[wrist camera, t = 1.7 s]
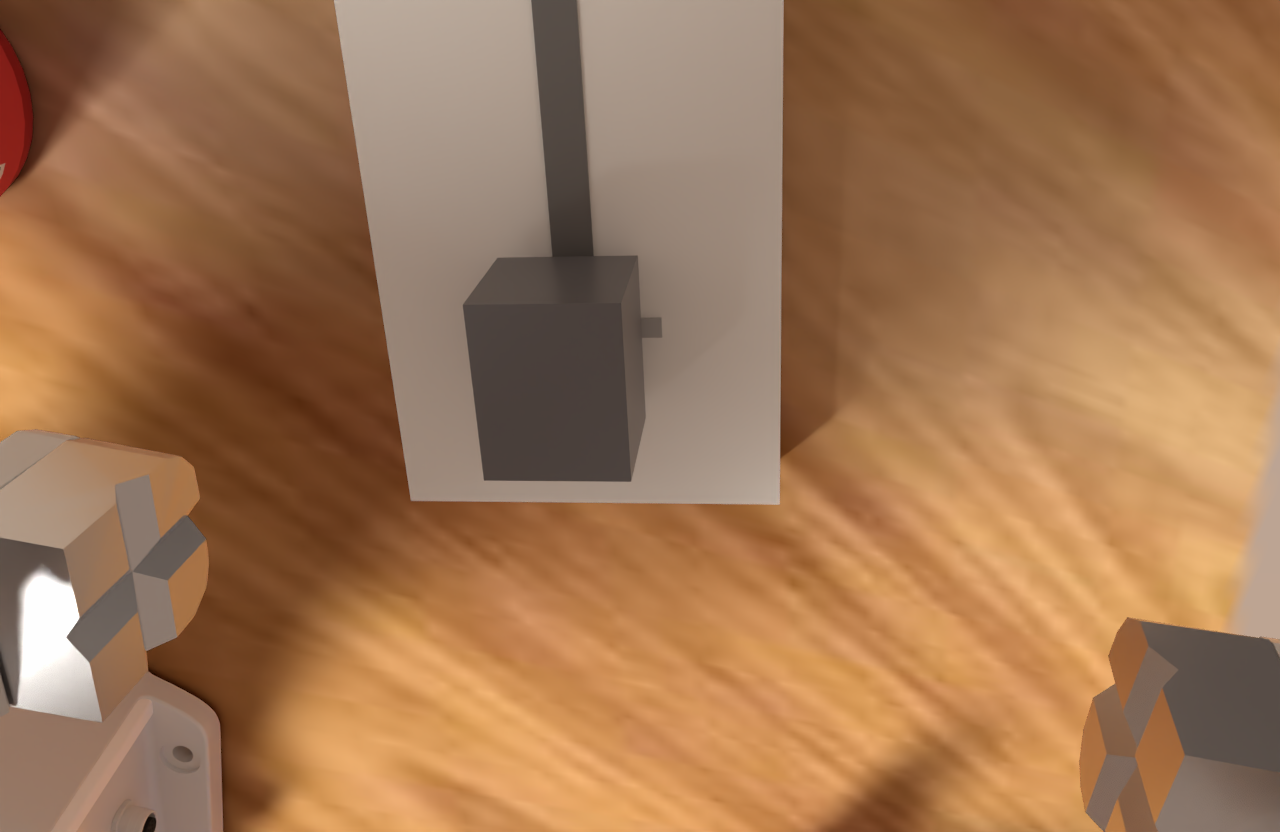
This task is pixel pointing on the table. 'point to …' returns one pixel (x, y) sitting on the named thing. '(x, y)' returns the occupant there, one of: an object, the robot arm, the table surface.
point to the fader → (557, 368)
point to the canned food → (13, 115)
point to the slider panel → (580, 215)
